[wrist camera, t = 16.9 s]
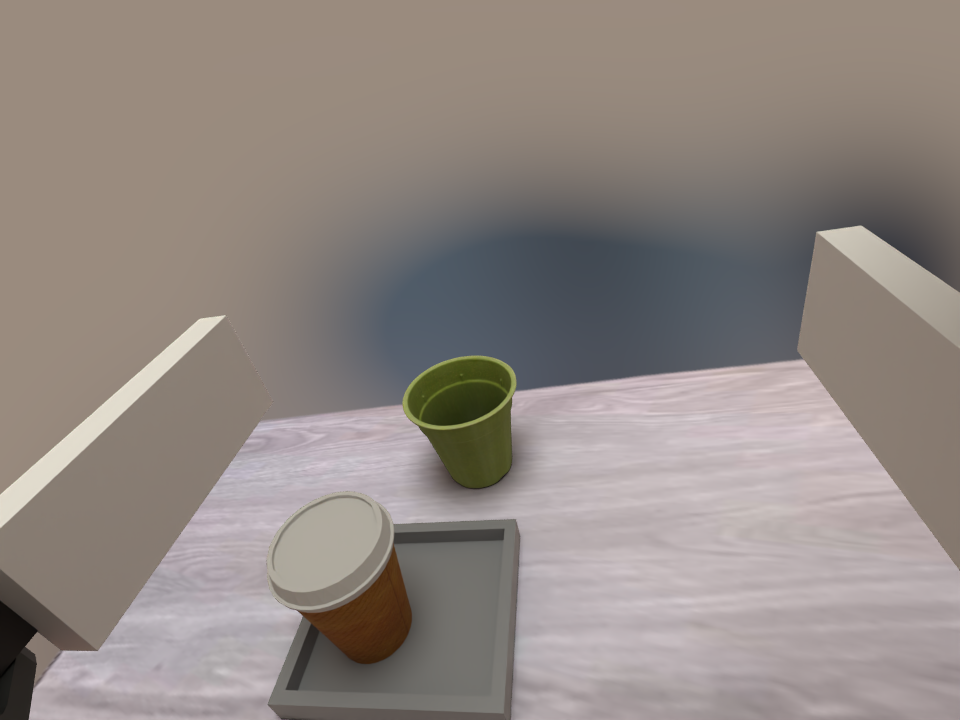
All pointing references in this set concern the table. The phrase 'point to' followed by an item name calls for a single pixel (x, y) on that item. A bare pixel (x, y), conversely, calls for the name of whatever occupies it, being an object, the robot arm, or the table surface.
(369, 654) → the disposable coffee cup
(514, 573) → the serving tray
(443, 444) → the plant pot
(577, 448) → the table surface
